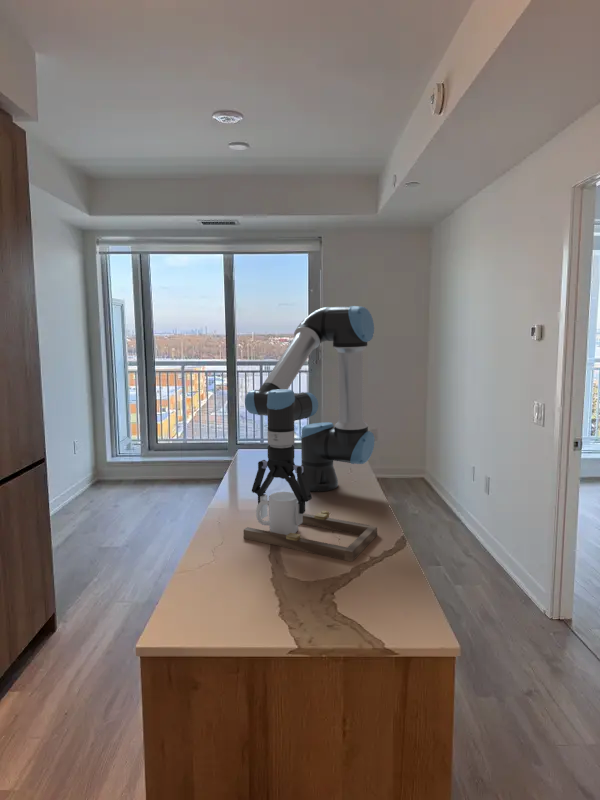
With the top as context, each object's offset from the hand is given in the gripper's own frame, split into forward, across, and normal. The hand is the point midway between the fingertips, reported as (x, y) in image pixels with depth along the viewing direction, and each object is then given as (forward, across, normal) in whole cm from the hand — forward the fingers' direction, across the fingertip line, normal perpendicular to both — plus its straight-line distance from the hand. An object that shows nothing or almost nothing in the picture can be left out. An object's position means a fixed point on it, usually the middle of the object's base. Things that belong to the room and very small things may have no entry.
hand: (281, 520), depth 149 cm
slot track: (+3, +9, +2) cm, 10 cm away
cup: (+3, -1, 0) cm, 3 cm away
